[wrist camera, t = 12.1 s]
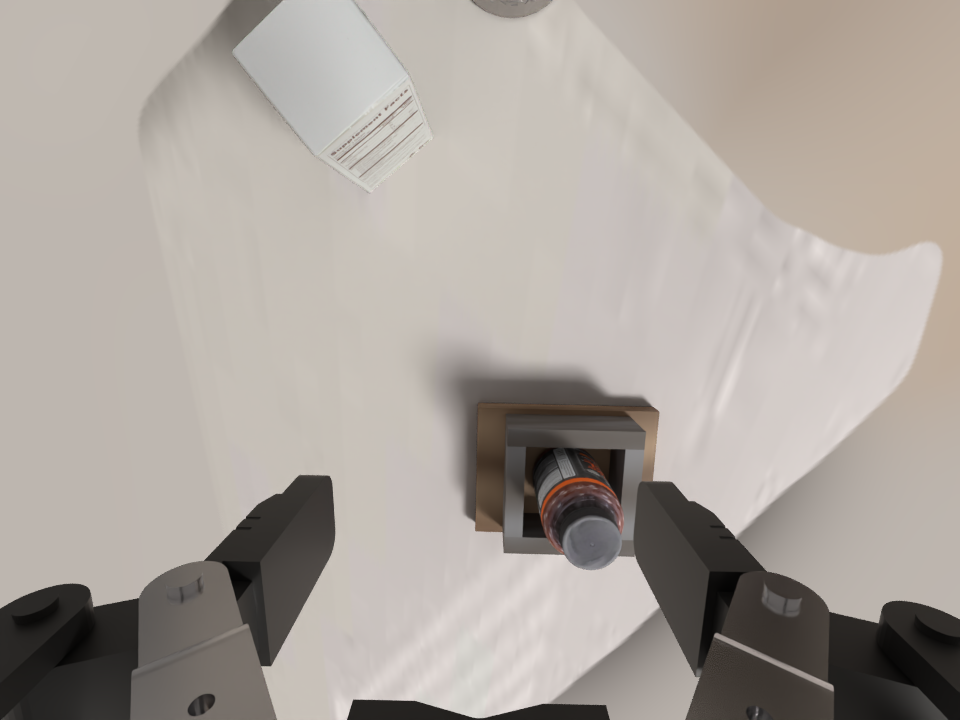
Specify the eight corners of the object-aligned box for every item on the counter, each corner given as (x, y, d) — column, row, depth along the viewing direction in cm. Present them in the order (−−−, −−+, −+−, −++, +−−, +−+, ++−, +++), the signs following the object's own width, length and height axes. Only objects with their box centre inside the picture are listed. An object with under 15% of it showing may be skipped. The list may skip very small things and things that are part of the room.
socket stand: (478, 402, 41) (476, 422, 36) (653, 406, 41) (678, 426, 36) (475, 522, 43) (474, 557, 38) (641, 527, 43) (663, 562, 38)
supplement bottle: (610, 473, 41) (657, 548, 30) (560, 514, 42) (588, 602, 30) (566, 427, 40) (598, 486, 29) (517, 470, 41) (529, 543, 30)
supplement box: (311, 123, 37) (223, 47, 25) (380, 62, 36) (324, -49, 24) (369, 197, 38) (312, 159, 26) (437, 140, 37) (412, 72, 25)
